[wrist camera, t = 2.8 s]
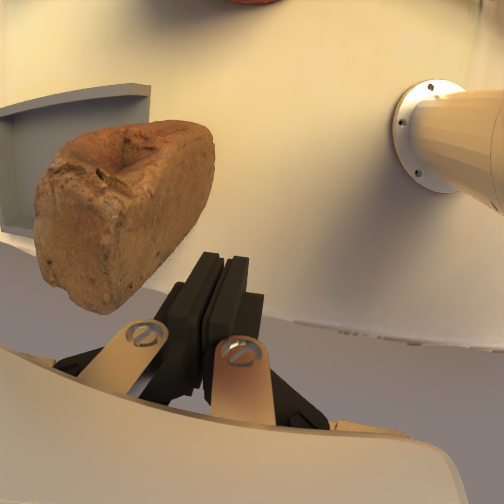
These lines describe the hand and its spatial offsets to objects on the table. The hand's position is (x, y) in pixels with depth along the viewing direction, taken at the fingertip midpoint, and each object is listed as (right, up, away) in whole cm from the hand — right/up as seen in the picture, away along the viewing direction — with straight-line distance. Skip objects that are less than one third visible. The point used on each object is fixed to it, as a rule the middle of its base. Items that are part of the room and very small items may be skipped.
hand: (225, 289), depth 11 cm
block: (-6, +11, +20) cm, 24 cm away
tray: (-23, +13, +21) cm, 34 cm away
